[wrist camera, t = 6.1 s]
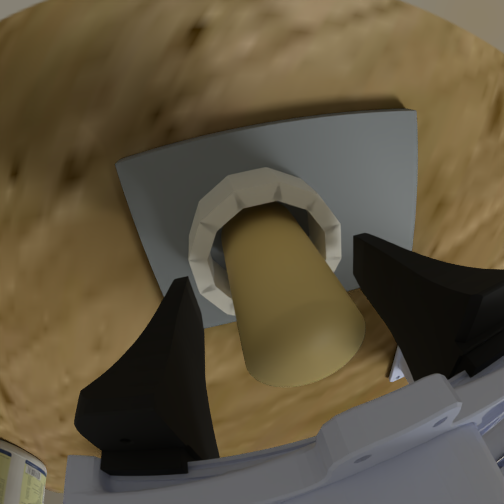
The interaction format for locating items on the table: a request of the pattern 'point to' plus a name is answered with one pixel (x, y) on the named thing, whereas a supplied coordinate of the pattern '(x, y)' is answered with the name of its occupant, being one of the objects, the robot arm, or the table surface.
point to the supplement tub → (20, 476)
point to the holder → (274, 193)
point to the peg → (287, 300)
